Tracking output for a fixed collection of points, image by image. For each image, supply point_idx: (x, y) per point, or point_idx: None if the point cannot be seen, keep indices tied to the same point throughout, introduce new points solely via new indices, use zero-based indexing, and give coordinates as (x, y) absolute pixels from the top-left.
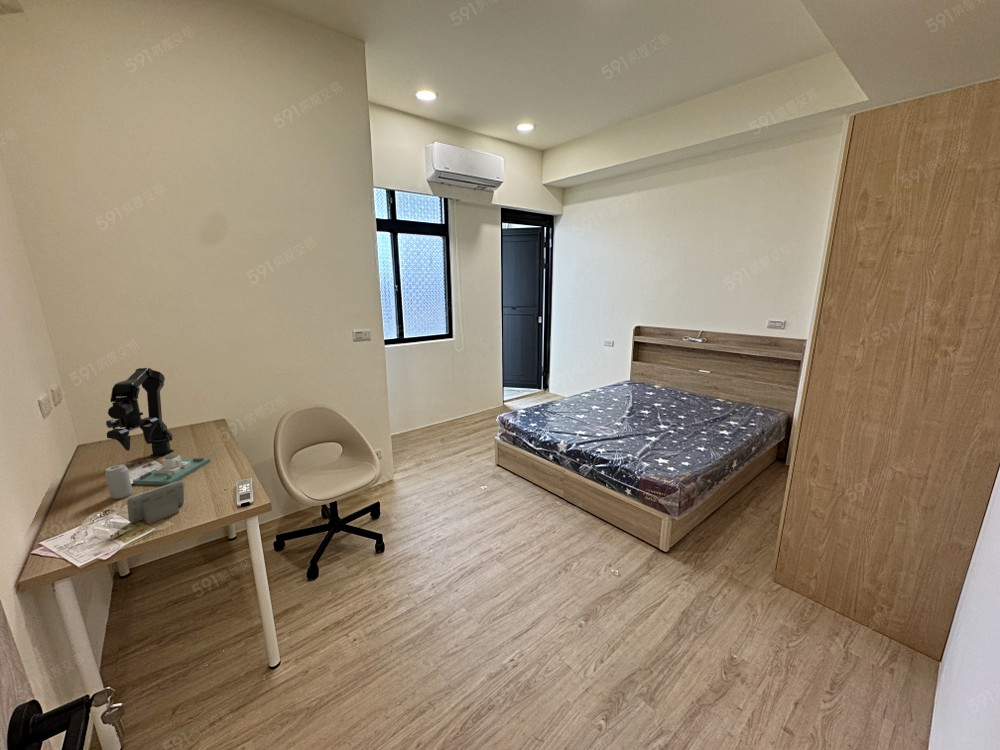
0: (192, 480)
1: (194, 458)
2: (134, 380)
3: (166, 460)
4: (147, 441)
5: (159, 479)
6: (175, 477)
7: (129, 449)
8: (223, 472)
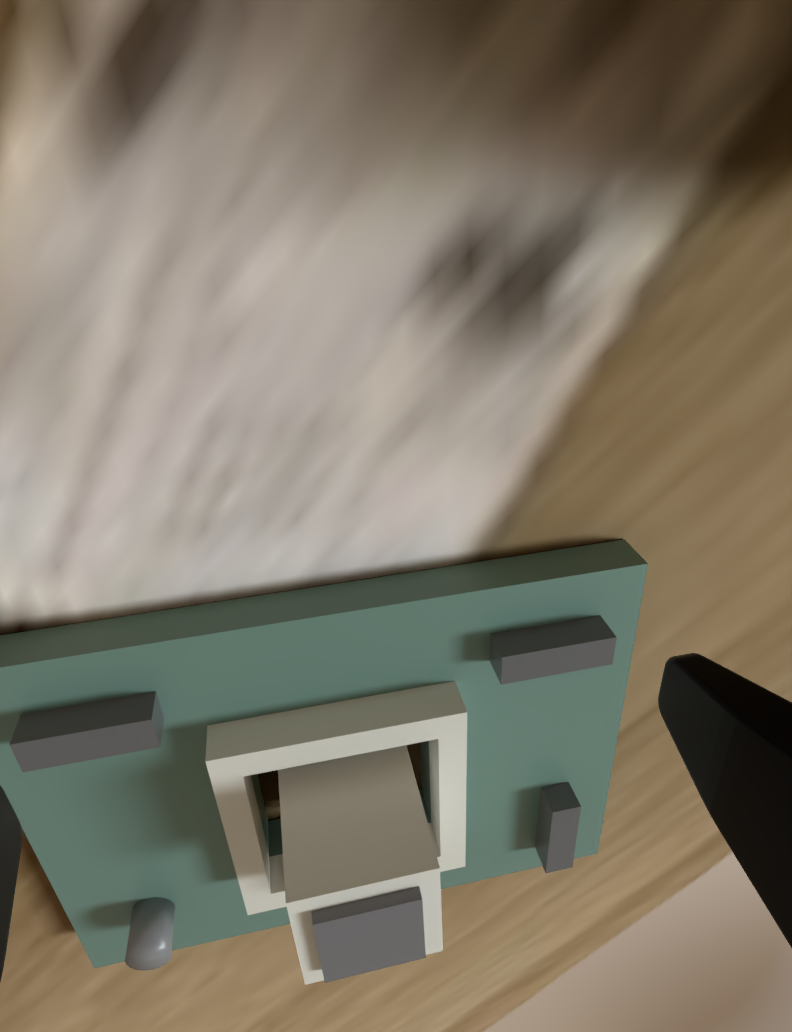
0: (226, 971)
1: (562, 817)
2: None
3: (294, 929)
4: (671, 710)
5: (92, 874)
6: (178, 937)
7: (7, 873)
8: (390, 1011)
